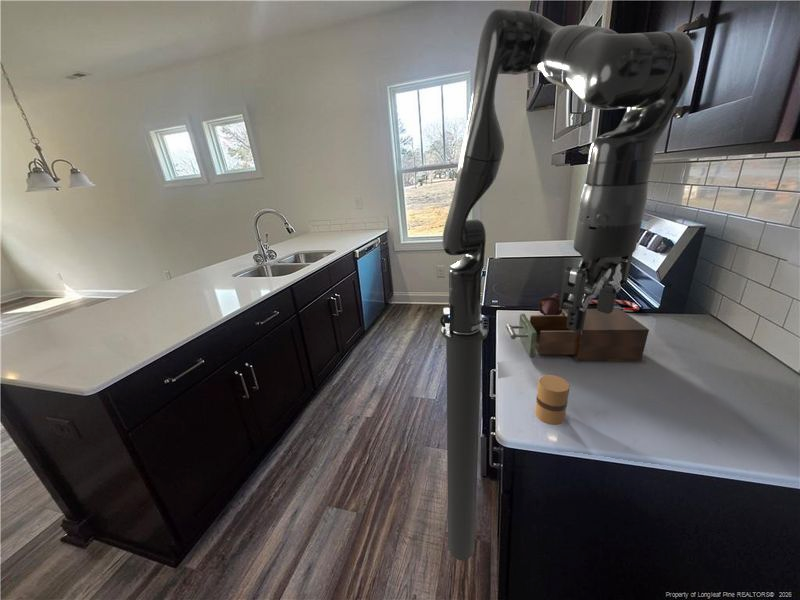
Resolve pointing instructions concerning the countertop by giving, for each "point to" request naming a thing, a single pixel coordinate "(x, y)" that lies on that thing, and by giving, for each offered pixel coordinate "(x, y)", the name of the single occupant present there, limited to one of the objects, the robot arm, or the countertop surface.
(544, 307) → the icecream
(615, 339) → the cabinet
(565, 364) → the countertop surface
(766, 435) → the countertop surface
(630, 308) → the candy cane
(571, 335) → the drawer
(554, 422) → the cookie roll
